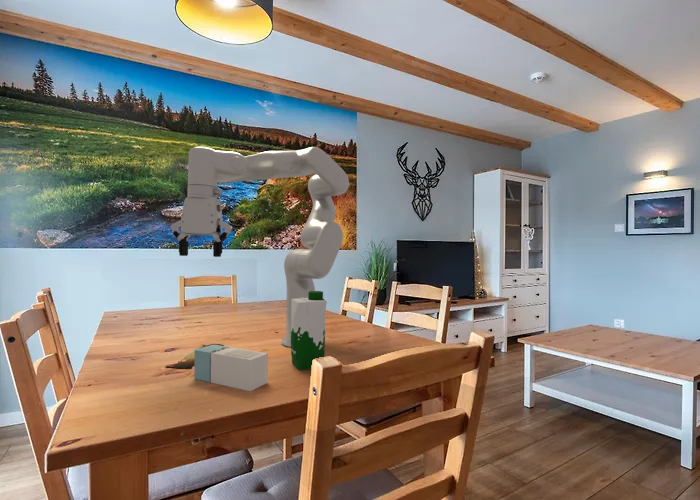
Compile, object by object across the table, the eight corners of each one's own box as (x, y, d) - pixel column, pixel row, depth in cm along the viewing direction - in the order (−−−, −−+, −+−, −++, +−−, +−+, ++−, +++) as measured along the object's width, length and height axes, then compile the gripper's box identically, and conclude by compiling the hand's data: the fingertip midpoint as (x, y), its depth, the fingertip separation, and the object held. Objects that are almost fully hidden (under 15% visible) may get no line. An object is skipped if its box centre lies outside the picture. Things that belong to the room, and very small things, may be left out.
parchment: (200, 345, 124) (200, 342, 124) (230, 344, 124) (230, 342, 124) (162, 371, 99) (162, 367, 99) (200, 370, 99) (200, 367, 99)
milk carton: (328, 367, 101) (329, 293, 101) (295, 372, 97) (296, 294, 97) (318, 358, 109) (318, 289, 109) (287, 362, 105) (288, 291, 105)
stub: (213, 371, 97) (213, 344, 97) (228, 374, 95) (228, 346, 95) (194, 378, 91) (194, 349, 91) (209, 382, 89) (209, 352, 89)
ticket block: (229, 374, 94) (229, 346, 94) (267, 382, 89) (267, 352, 89) (210, 382, 89) (210, 352, 89) (250, 391, 84) (250, 359, 84)
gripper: (238, 196, 106) (236, 257, 106) (180, 195, 108) (178, 255, 108) (226, 191, 98) (224, 257, 98) (164, 191, 100) (162, 255, 100)
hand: (200, 256), depth 103 cm, fingers open, 9 cm apart
